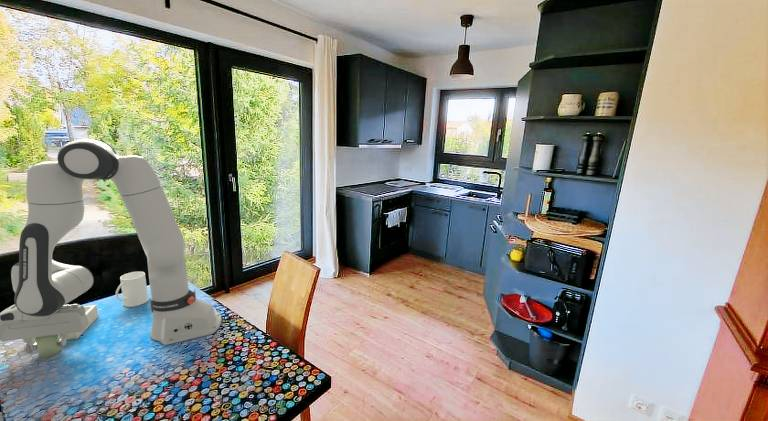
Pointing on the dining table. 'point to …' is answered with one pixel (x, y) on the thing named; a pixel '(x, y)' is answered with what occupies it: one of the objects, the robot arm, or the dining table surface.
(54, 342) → the pale green rounded piece
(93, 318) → the bin
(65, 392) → the dining table surface
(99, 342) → the dining table surface
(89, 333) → the dining table surface
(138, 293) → the mug
